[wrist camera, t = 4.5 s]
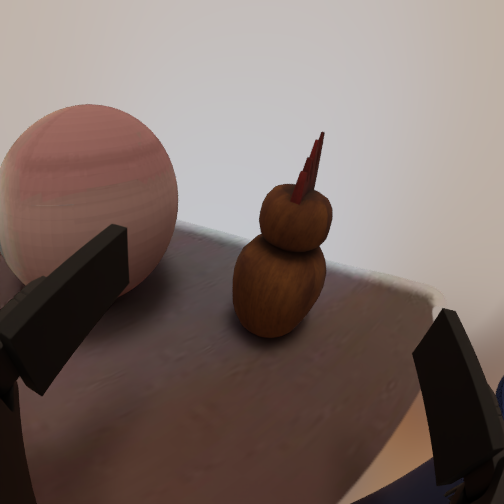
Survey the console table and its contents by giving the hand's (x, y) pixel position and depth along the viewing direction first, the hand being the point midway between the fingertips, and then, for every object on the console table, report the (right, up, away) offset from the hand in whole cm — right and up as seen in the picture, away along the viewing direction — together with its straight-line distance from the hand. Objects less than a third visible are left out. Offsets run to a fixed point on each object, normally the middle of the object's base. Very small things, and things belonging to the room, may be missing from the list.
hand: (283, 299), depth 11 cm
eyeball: (-15, -1, +12) cm, 20 cm away
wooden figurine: (0, -4, +13) cm, 14 cm away
